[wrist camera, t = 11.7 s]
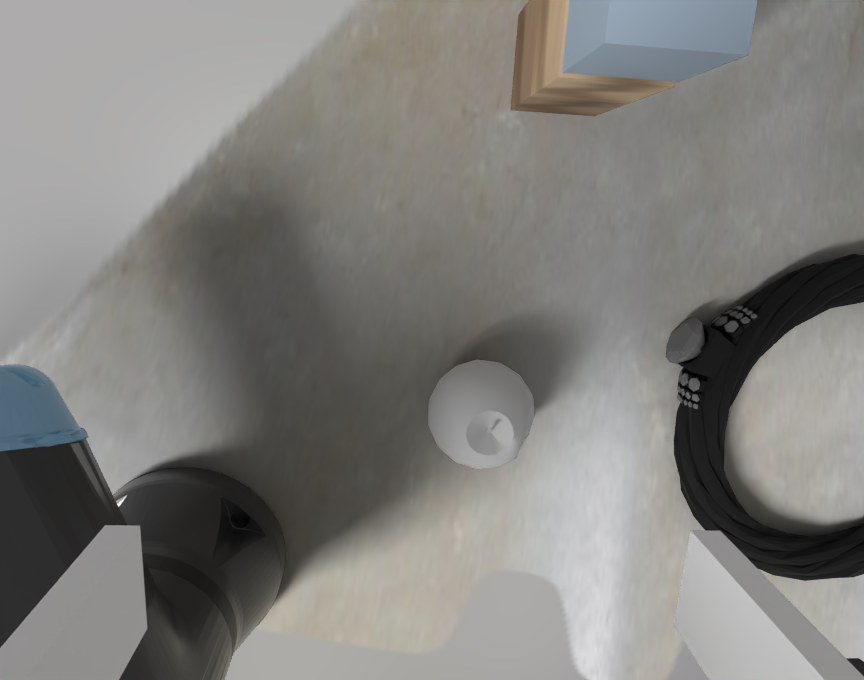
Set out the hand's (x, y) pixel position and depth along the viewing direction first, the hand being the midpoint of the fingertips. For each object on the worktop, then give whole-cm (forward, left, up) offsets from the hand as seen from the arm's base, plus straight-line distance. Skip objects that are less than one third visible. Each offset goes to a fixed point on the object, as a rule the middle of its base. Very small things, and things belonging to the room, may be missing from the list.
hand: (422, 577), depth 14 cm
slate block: (+10, +18, -19) cm, 28 cm away
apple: (+6, -6, -31) cm, 32 cm away
